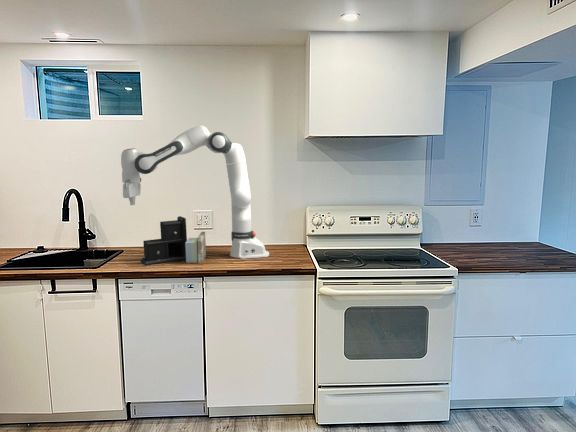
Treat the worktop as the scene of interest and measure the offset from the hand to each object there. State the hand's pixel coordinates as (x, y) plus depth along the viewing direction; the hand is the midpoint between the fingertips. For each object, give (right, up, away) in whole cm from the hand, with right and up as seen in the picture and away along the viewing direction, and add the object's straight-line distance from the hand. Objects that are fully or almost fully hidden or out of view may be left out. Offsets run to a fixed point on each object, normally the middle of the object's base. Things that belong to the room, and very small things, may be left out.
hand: (132, 205), depth 220 cm
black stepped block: (+16, -31, +5) cm, 35 cm away
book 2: (+33, -30, +7) cm, 45 cm away
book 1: (+30, -30, +7) cm, 43 cm away
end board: (+36, -30, +7) cm, 47 cm away
